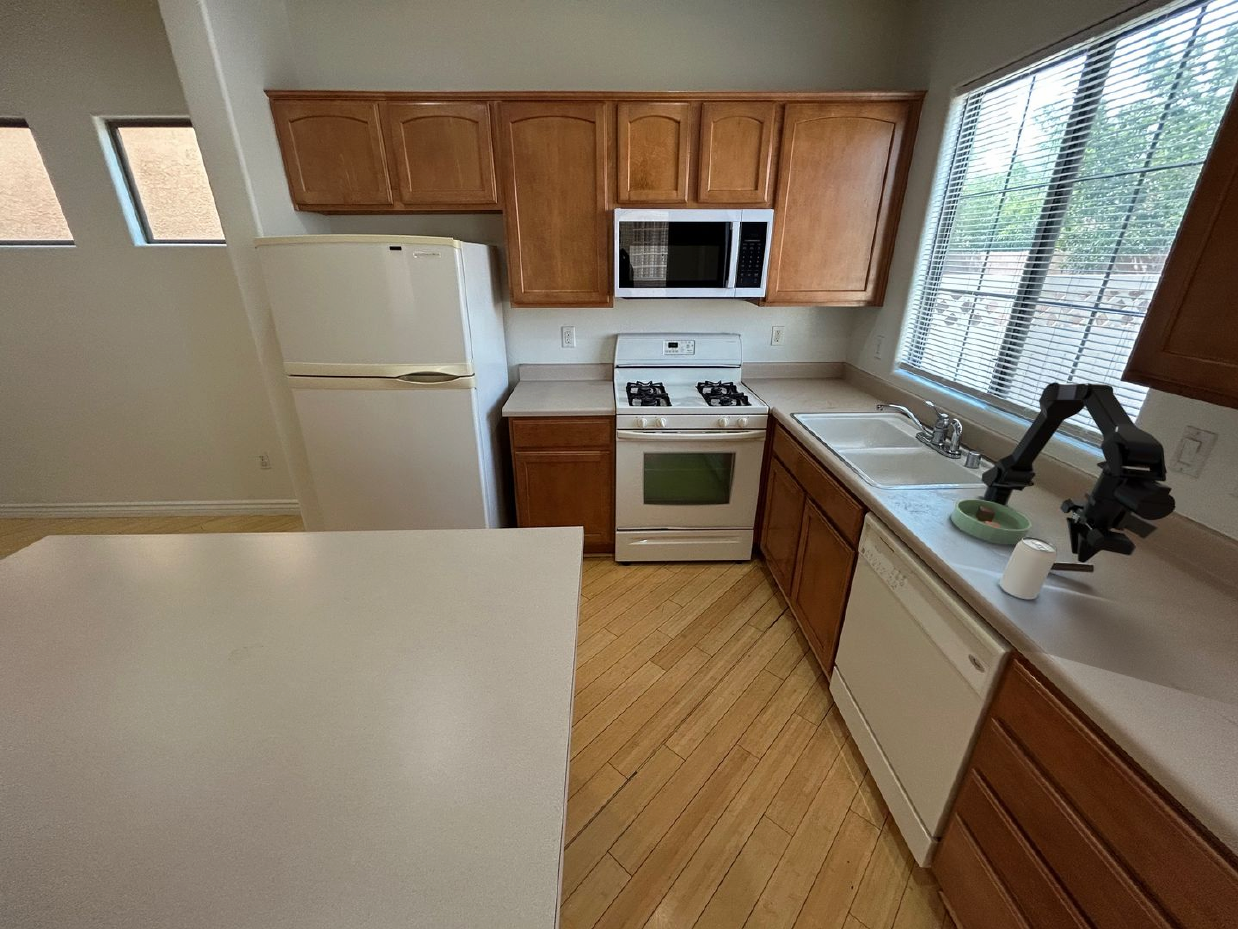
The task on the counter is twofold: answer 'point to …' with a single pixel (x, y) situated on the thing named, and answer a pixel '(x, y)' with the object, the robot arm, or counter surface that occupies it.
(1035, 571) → the can
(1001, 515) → the bowl
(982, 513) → the walnut block
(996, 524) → the terracotta block
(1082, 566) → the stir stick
